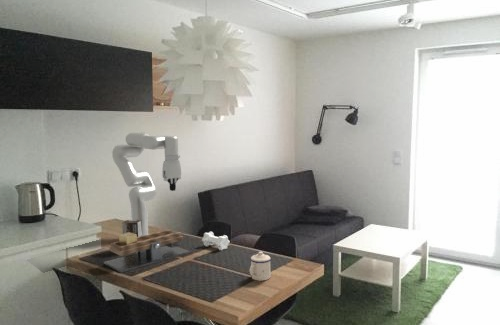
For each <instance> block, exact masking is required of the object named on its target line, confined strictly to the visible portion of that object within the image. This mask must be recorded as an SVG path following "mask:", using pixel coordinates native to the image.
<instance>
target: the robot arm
mask: <svg viewBox="0 0 500 325" xmlns="http://www.w3.org/2000/svg"><path fill="white" fill-rule="evenodd" d="M125 142H126V143H125V144H124V143H123V144H117V145H115V146H114V147H113V149H112V151H111V153H112V160H113V162H114V163H115V165H116V166H117V168H118V170H119V171H120V174H121V176H122V178H123V180H124V182H125V185H126V186H127V187H129V188H131V189H130V190H129V192H128V199H129V203H130V210H131V211H130V214H131V220H142V236H144V235H149V234H150V233H149V223H148V222H149V221H148V219H149V217H148V207H147V205H146V203H145V202H148V201H153V200H155V199H156V198H157V194H158V193H157V192H158V191H157V188H156V186H155V184H154V183H153V179H152V177H151V175H150V174H149V173H148V172H147V171H145V170H136V168H135V167H134V165H133V163H132V162H131V161H130V160H129V159H127V158H136V157H139V156H140V155H141V154H142V153H143V151H145V150H152V151H153V150H164V160H163V162H162V173H161V174H162V175H161V176H162V178H163V181H164V182H168V184H169V191H172V192H173V191H176V184H177V182H178V181H179V180H181V179H182V167H181V162H180V161H181V160H179V159H180V157H181V156H180V155H179V139H178V136H176V135H173V136H171V135H150V134H149V133H146V132H143V131H141V132H140V131H139V132H138V131H137V132H130V133H128V134H126V136H125Z"/></svg>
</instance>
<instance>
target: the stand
mask: <svg viewBox="0 0 500 325" xmlns="http://www.w3.org/2000/svg"><path fill="white" fill-rule="evenodd" d="M150 245H151V248H150V249H147V250H143V251H139V252H135V253H132V254H128V255H124V256H120V257H117V258H113V259H110V260H105V261H103V264H104V265H106V266H107V267H109V268H112V269H113V270H115V271H117V272H118V273H120V274H121V273H125V272H127V271H128V272H129V271H131V270H132V271H133V270H136V269H139V268H143V267H145V266H150V265H153V264H156V263H159V262H160V263H161V262H164V261H167V260H171V259H174V258H177V257H181V256H185V255H188V254H189V255H190V254H191V251H190V250H188V249H185V248H182V247H180V246H177V247H173V248H171V247H168V246H165V245H163V246H161V242H160V241H157V242H153V243H150Z"/></svg>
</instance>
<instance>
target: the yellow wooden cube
mask: <svg viewBox="0 0 500 325" xmlns="http://www.w3.org/2000/svg"><path fill="white" fill-rule="evenodd" d="M118 238H119V239H118V240H119V242H120V246H125V245H129V244H133V243H137V234H134V233H130V232H129V233H125V234H123V233H122V234H121V233H120V234H119V236H118Z"/></svg>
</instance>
